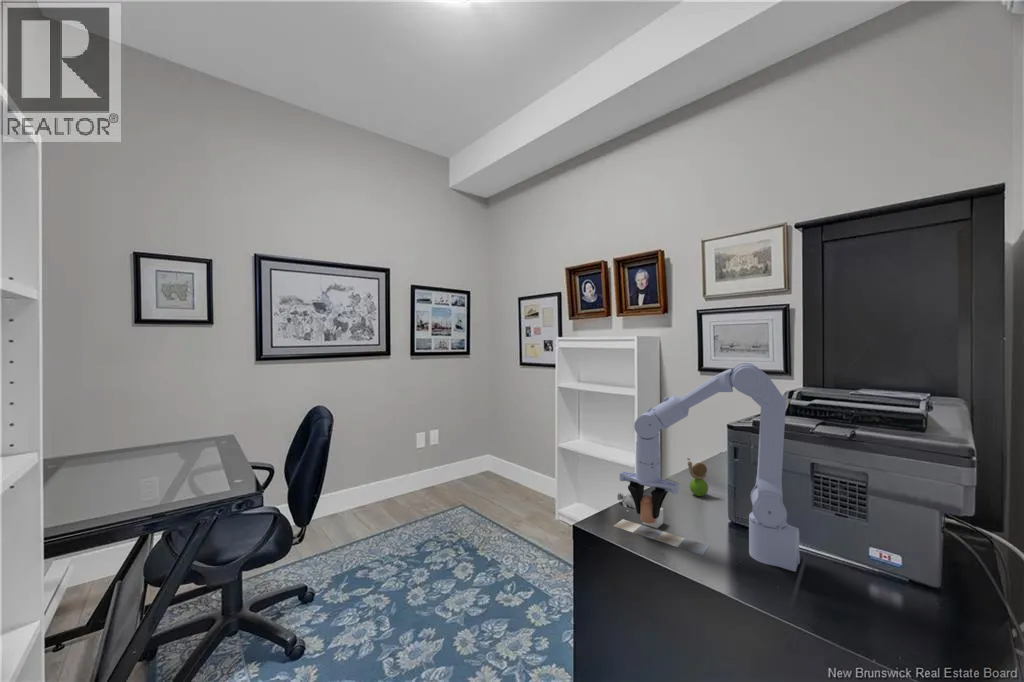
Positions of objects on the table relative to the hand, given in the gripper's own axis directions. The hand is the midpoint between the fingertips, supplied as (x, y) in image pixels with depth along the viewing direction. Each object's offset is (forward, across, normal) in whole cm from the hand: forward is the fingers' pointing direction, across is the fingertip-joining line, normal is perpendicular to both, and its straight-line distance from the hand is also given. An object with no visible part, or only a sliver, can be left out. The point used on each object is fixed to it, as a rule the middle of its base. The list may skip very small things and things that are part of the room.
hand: (647, 514), depth 103 cm
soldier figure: (+6, +8, -12) cm, 16 cm away
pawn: (+1, 0, 0) cm, 1 cm away
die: (+4, +1, -6) cm, 7 cm away
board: (+5, -3, -2) cm, 6 cm away
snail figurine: (+5, -1, -36) cm, 36 cm away
